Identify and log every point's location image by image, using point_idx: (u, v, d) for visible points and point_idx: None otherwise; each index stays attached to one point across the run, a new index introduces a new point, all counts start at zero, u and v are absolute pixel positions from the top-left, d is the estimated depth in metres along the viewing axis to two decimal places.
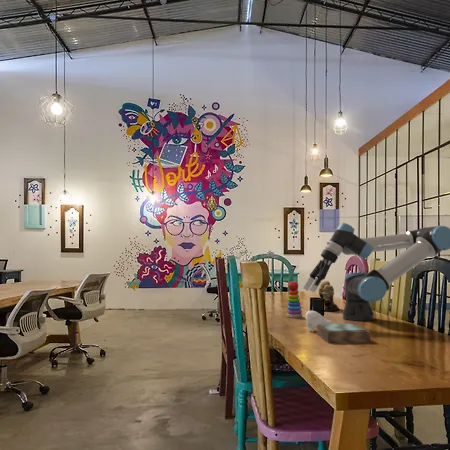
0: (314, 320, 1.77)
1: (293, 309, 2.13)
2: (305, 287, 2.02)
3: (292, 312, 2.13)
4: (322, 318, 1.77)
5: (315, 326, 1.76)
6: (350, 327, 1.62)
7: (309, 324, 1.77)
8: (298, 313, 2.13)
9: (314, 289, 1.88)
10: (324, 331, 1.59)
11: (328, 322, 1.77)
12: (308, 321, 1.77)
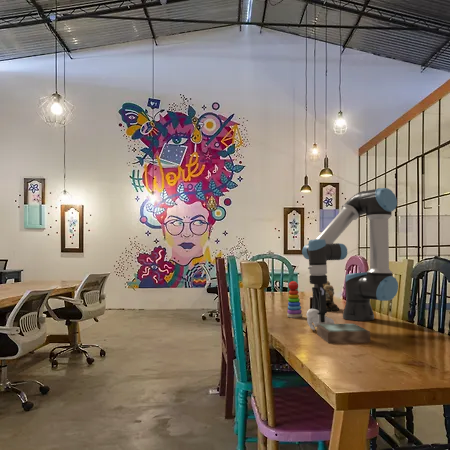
0: (315, 318, 1.77)
1: (293, 309, 2.13)
2: None
3: (292, 312, 2.13)
4: None
5: (316, 324, 1.76)
6: (350, 327, 1.62)
7: (310, 322, 1.77)
8: (298, 313, 2.13)
9: None
10: (324, 331, 1.59)
11: (329, 320, 1.77)
12: (309, 319, 1.77)
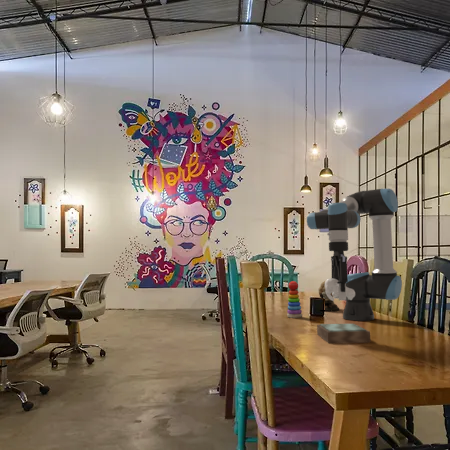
0: (334, 288, 1.63)
1: (293, 309, 2.13)
2: None
3: (292, 312, 2.13)
4: None
5: (336, 294, 1.62)
6: (350, 327, 1.62)
7: (329, 292, 1.63)
8: (298, 313, 2.13)
9: (344, 296, 1.61)
10: (324, 331, 1.59)
11: (350, 290, 1.62)
12: (328, 289, 1.62)
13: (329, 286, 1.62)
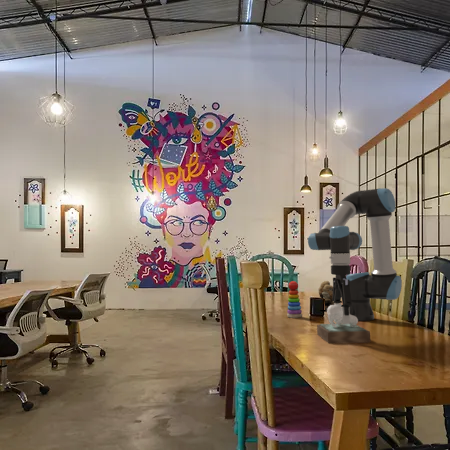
0: (337, 315, 1.61)
1: (293, 309, 2.13)
2: None
3: (292, 312, 2.13)
4: None
5: (339, 322, 1.60)
6: (350, 327, 1.62)
7: (332, 320, 1.61)
8: (298, 313, 2.13)
9: (347, 320, 1.58)
10: (324, 331, 1.59)
11: (352, 317, 1.61)
12: (331, 316, 1.61)
13: (332, 313, 1.61)
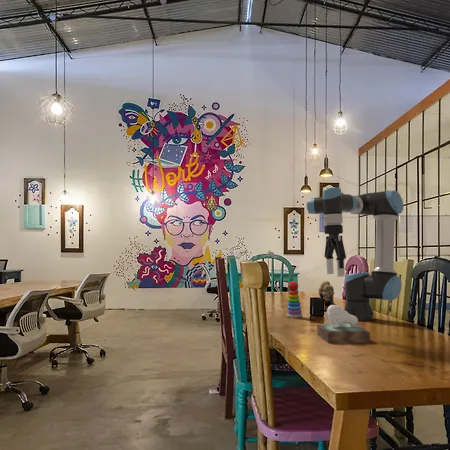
0: (337, 315, 1.61)
1: (293, 309, 2.13)
2: (329, 272, 1.79)
3: (292, 312, 2.13)
4: (346, 313, 1.62)
5: (339, 322, 1.60)
6: (350, 327, 1.62)
7: (332, 320, 1.61)
8: (298, 313, 2.13)
9: (342, 273, 1.65)
10: (324, 331, 1.59)
11: (352, 317, 1.61)
12: (331, 316, 1.61)
13: (332, 313, 1.61)
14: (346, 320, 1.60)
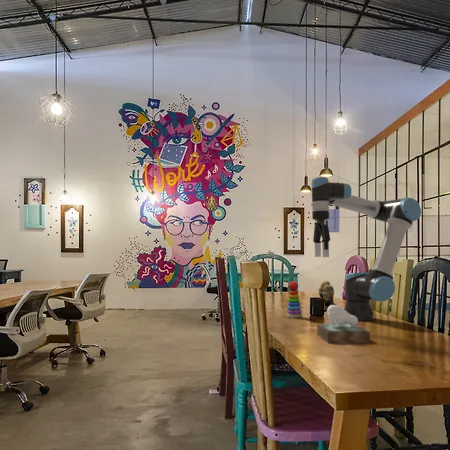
0: (337, 315, 1.61)
1: (293, 309, 2.13)
2: (317, 255, 1.95)
3: (292, 312, 2.13)
4: (346, 313, 1.62)
5: (339, 322, 1.60)
6: (350, 327, 1.62)
7: (332, 320, 1.61)
8: (298, 313, 2.13)
9: (327, 254, 1.82)
10: (324, 331, 1.59)
11: (352, 317, 1.61)
12: (331, 316, 1.61)
13: (332, 313, 1.61)
14: (346, 320, 1.60)
